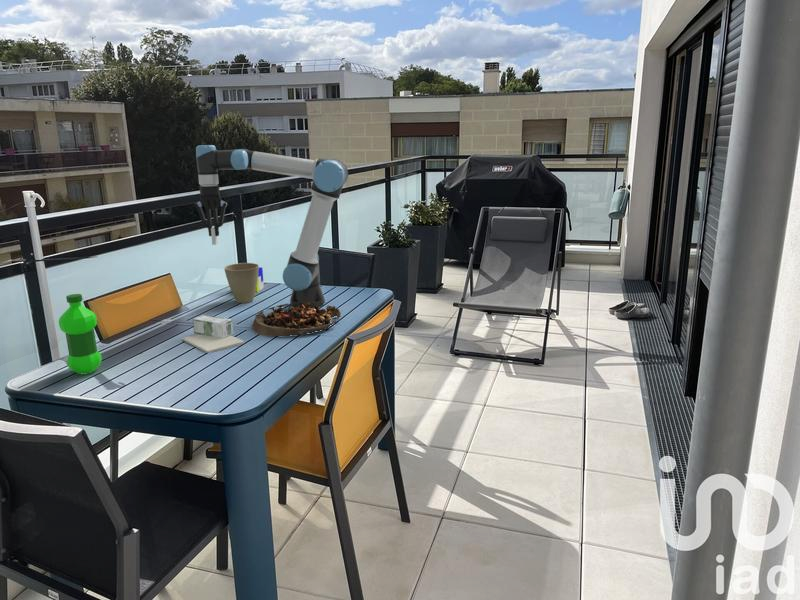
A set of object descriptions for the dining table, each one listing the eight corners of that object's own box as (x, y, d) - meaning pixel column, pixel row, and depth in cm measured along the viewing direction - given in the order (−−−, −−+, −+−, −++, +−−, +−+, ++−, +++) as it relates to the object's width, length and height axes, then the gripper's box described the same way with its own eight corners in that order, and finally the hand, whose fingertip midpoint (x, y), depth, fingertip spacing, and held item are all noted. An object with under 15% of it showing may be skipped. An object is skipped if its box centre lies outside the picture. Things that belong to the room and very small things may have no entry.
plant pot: (224, 299, 277) (221, 265, 273) (257, 295, 283) (254, 261, 279) (230, 307, 264) (227, 271, 260) (264, 302, 270) (262, 267, 266)
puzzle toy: (263, 287, 298) (262, 267, 296) (257, 292, 289) (255, 271, 286) (244, 287, 299) (242, 267, 297) (236, 292, 290) (235, 271, 287)
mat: (182, 340, 222) (182, 337, 222) (217, 331, 232) (217, 329, 231) (207, 353, 208) (207, 351, 208) (244, 343, 217) (244, 341, 217)
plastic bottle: (94, 363, 201) (82, 289, 194) (109, 370, 194) (98, 294, 188) (62, 372, 193) (49, 296, 187) (77, 380, 187) (64, 301, 180)
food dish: (329, 310, 261) (328, 293, 259) (351, 334, 231) (351, 314, 229) (245, 318, 248) (244, 299, 246) (257, 344, 219) (256, 323, 217)
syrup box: (204, 329, 232) (234, 333, 226) (193, 333, 227) (223, 338, 221) (203, 314, 231) (233, 319, 224) (191, 318, 225) (222, 323, 219)
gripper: (227, 184, 245) (233, 242, 251) (194, 184, 244) (201, 242, 251) (223, 185, 238) (229, 245, 244) (189, 186, 237) (196, 246, 243)
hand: (214, 244), depth 247 cm, fingers closed
